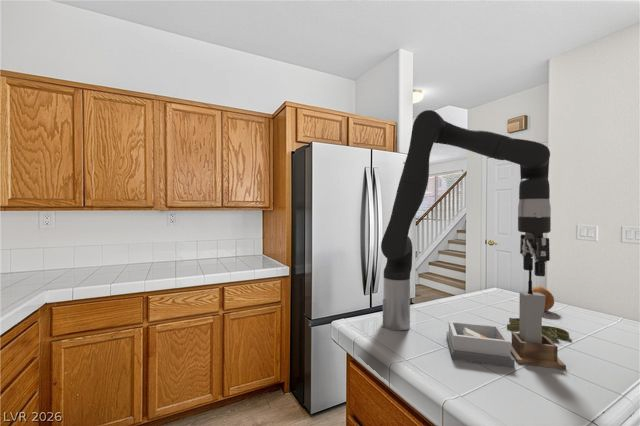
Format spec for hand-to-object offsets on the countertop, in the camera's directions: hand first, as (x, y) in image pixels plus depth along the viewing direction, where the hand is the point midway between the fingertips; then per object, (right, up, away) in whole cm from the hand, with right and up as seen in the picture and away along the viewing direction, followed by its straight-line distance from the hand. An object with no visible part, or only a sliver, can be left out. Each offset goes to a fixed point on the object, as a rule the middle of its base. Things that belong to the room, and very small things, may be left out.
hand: (533, 272), depth 85 cm
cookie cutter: (+14, -24, +19) cm, 34 cm away
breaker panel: (-14, -24, +3) cm, 28 cm away
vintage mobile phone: (0, -23, 0) cm, 23 cm away
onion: (+31, -24, +41) cm, 57 cm away
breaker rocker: (-14, -20, +3) cm, 24 cm away
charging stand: (0, -24, 0) cm, 24 cm away
